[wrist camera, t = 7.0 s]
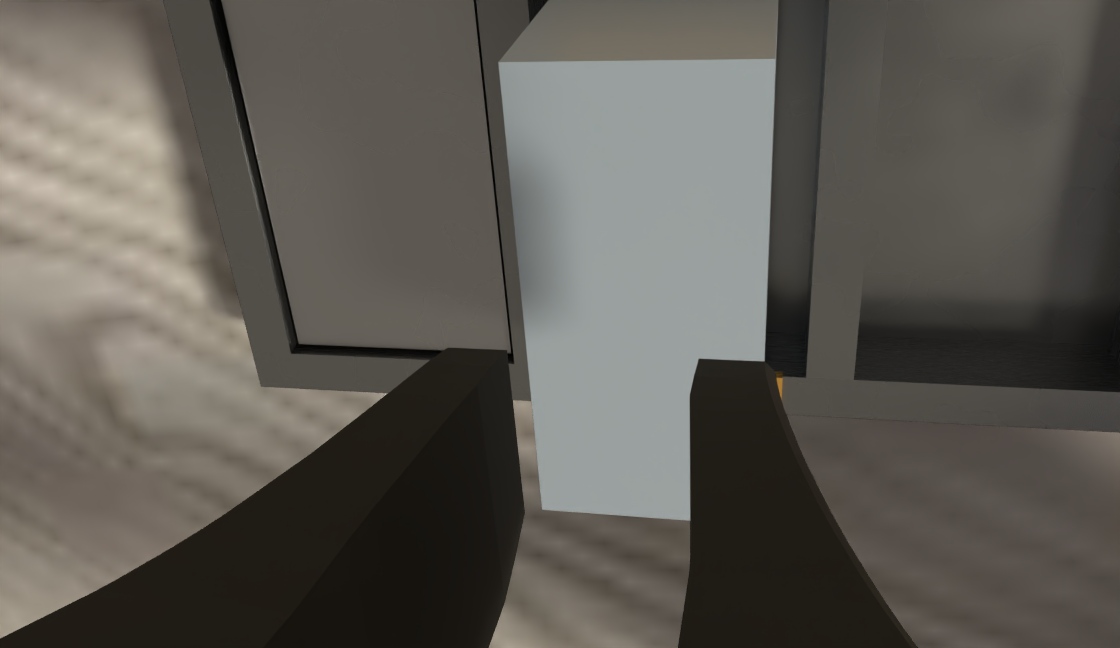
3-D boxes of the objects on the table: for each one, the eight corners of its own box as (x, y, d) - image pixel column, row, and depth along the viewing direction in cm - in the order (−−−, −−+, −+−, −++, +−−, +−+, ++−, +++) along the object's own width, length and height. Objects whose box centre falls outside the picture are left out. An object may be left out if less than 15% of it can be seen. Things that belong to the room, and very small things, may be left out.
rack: (1139, 374, 19) (1176, 447, 17) (302, 338, 22) (257, 396, 20) (1293, -232, 14) (1368, -222, 12) (189, -167, 17) (117, -152, 15)
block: (587, -49, 17) (498, 62, 12) (780, -55, 16) (775, 58, 11) (605, 302, 20) (542, 510, 15) (766, 308, 19) (758, 525, 14)
